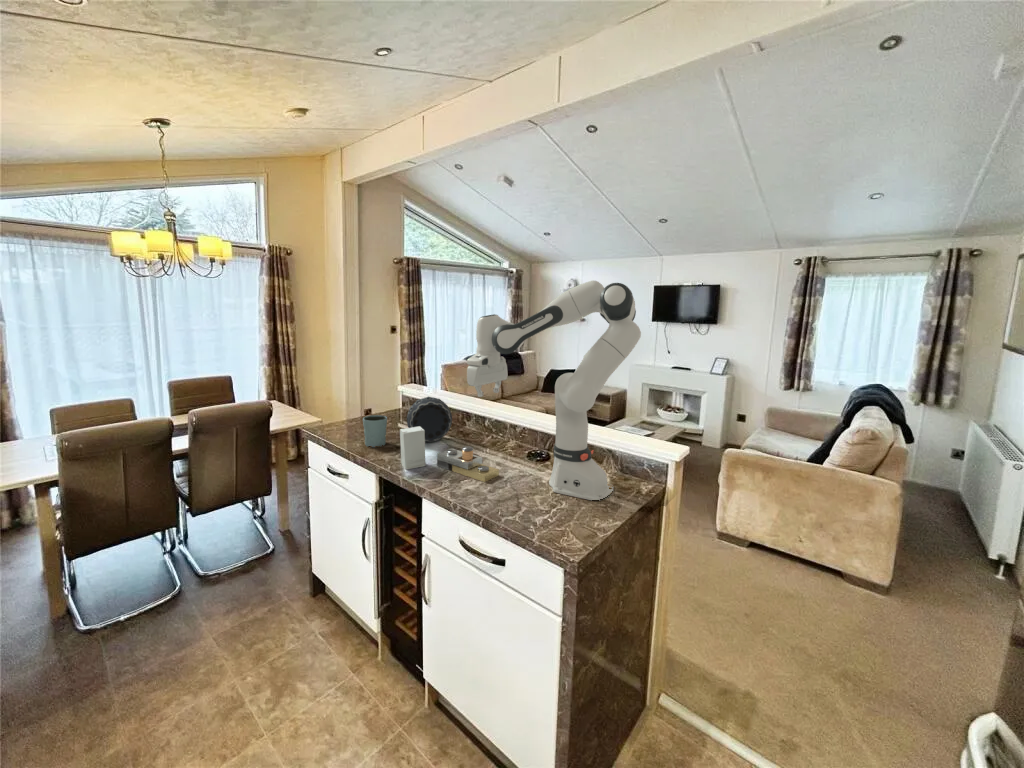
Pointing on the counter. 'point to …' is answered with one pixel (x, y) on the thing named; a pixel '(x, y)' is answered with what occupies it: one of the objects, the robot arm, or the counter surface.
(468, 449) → the pin
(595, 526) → the counter surface
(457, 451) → the chain joint
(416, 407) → the scalloped baking dish
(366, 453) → the counter surface
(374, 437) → the teal plant pot
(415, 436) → the skincare box
